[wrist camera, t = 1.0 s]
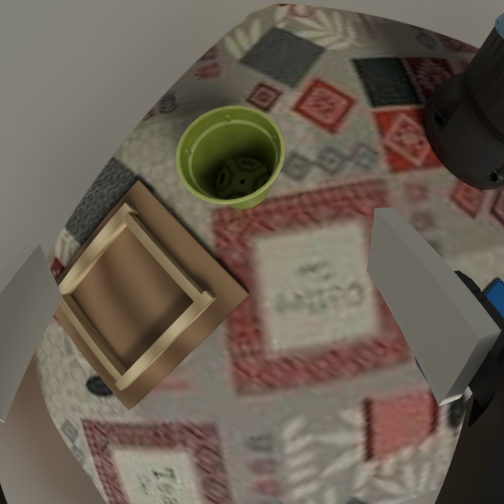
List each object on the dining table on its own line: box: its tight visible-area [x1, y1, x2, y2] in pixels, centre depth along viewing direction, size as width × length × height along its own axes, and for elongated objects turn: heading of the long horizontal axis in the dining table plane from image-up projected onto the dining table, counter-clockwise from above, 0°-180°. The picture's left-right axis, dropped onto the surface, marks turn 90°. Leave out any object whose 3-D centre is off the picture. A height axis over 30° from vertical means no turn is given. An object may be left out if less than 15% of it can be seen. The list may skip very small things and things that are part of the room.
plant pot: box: [176, 105, 285, 209], centre depth 30 cm, size 9×9×9 cm
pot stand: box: [54, 180, 250, 410], centre depth 33 cm, size 20×18×4 cm
